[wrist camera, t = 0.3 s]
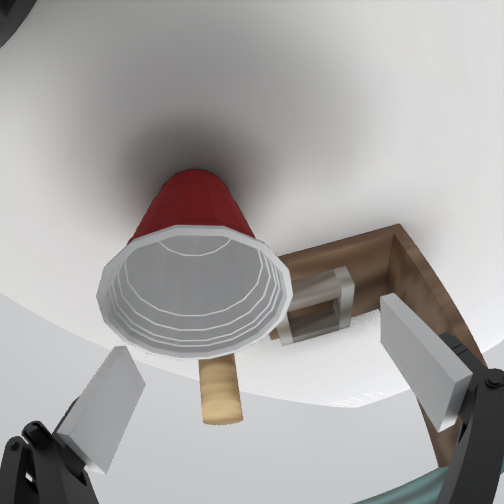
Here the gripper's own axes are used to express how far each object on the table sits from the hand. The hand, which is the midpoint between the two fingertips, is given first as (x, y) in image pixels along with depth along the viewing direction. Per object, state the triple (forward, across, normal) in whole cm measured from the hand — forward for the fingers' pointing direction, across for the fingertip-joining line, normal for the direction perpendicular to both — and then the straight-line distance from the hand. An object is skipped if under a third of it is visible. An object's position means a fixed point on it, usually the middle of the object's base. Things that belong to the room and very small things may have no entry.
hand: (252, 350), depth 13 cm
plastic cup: (+12, -3, +7) cm, 15 cm away
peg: (+22, -8, -10) cm, 25 cm away
